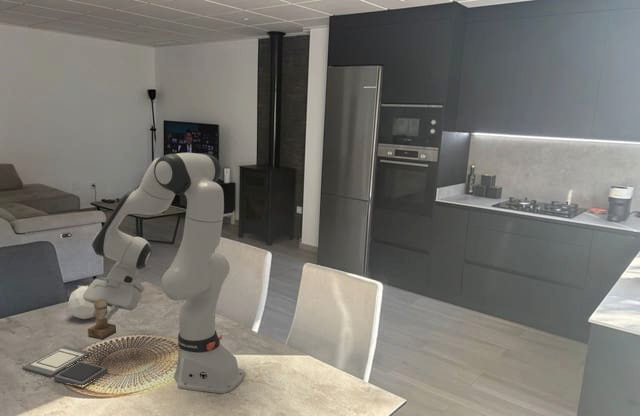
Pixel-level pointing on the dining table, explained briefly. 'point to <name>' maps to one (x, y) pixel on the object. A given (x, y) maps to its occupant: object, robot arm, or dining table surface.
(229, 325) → the dining table surface
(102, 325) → the hand stamp
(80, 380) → the ink pad
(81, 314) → the geodesic sphere
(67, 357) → the document board
